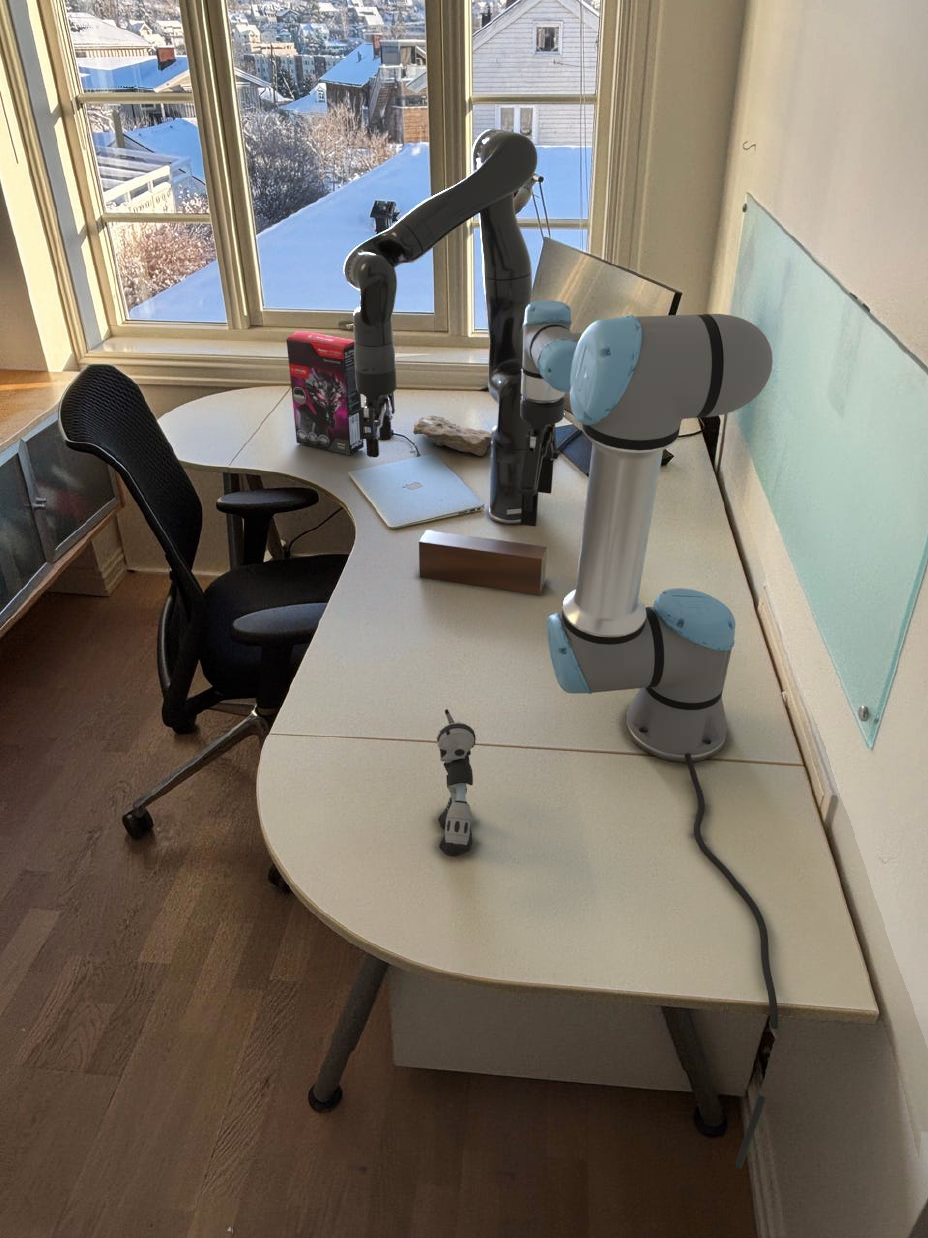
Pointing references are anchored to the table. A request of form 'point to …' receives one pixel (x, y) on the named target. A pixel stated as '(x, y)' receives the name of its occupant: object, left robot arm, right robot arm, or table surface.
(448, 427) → the stone
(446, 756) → the robot
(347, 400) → the graphics card box
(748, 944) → the table surface
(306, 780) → the table surface
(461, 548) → the walnut beam
